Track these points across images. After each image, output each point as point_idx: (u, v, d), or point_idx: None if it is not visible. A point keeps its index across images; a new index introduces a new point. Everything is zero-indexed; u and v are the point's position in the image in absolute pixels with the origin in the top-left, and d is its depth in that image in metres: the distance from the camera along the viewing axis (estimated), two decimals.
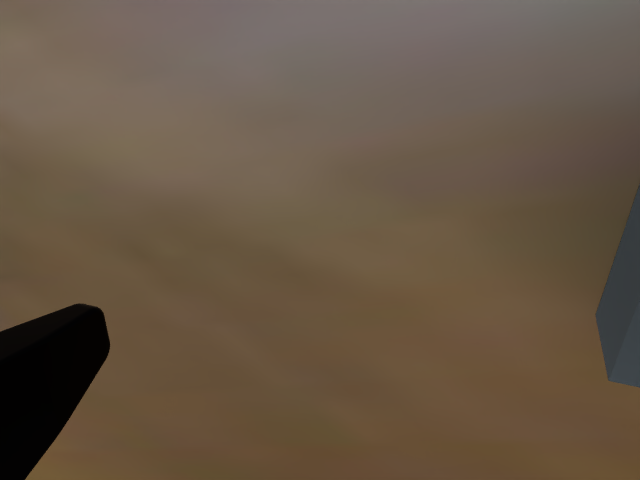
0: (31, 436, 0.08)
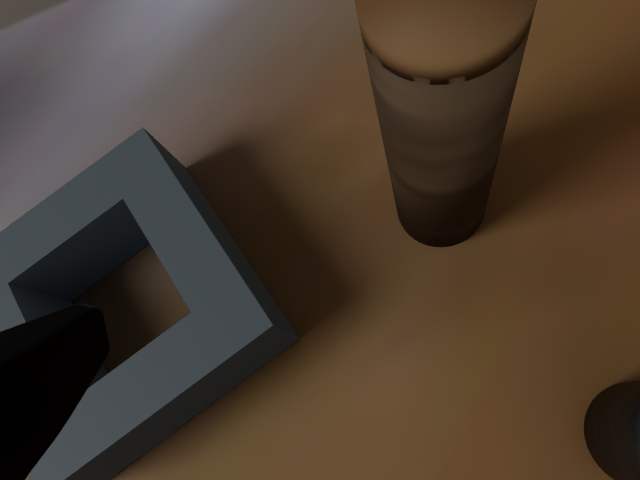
0: (31, 436, 0.08)
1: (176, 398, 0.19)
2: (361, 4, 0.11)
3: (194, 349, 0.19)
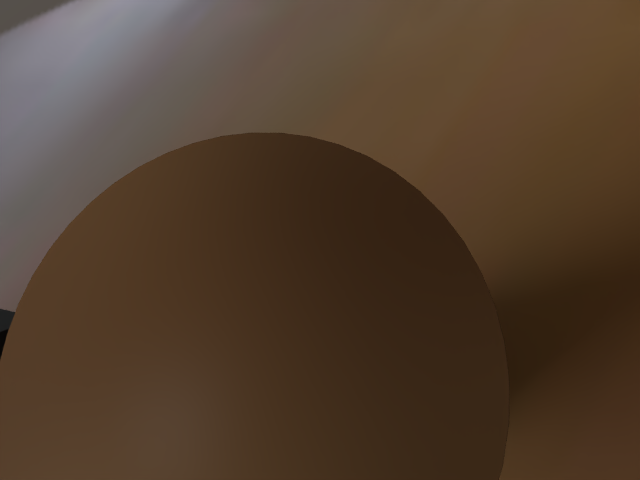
0: None
1: None
2: (4, 414, 0.04)
3: None
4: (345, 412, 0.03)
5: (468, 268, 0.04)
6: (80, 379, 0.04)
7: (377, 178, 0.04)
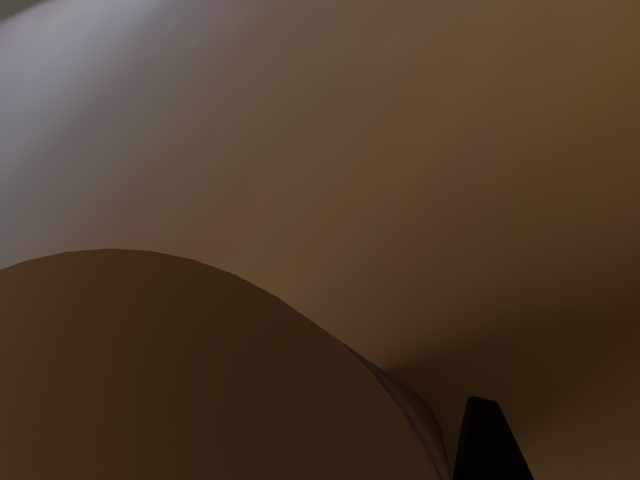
0: None
1: None
2: None
3: None
4: None
5: None
6: None
7: (290, 336, 0.02)
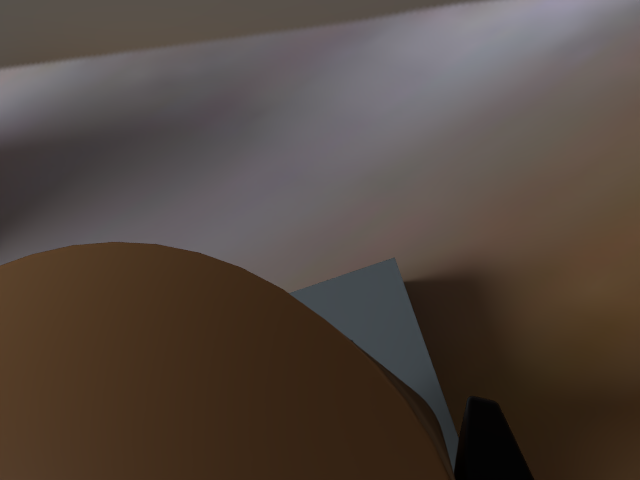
0: None
1: None
2: None
3: None
4: None
5: None
6: None
7: (297, 329, 0.02)
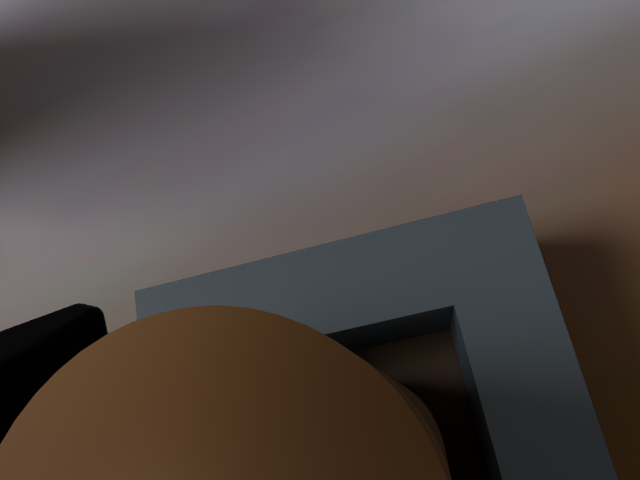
0: None
1: None
2: None
3: None
4: None
5: (433, 473, 0.04)
6: None
7: (343, 366, 0.04)
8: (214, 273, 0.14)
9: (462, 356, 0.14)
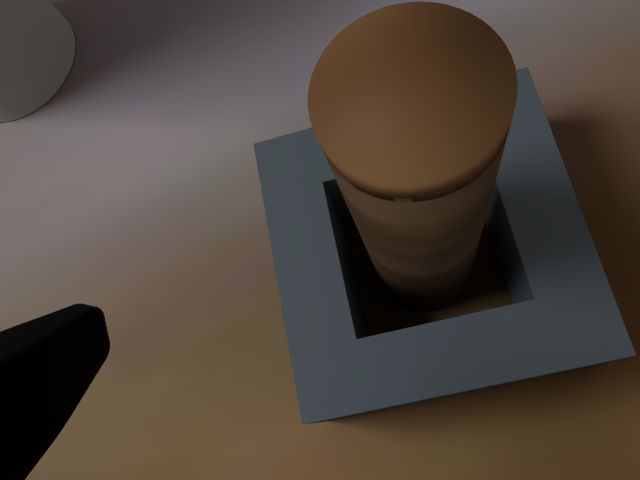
0: (31, 436, 0.08)
1: (488, 386, 0.16)
2: (315, 111, 0.10)
3: (527, 341, 0.16)
4: (455, 97, 0.09)
5: (501, 45, 0.09)
6: (345, 97, 0.10)
7: (464, 16, 0.10)
8: (311, 129, 0.20)
9: None
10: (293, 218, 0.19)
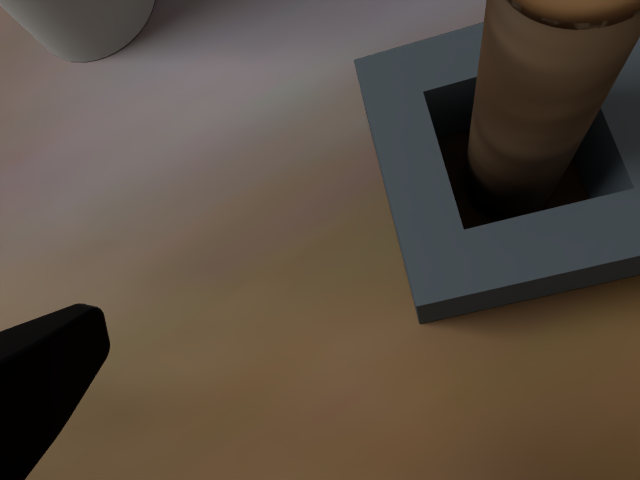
0: (31, 436, 0.08)
1: (592, 267, 0.18)
2: None
3: (629, 226, 0.18)
4: None
5: None
6: None
7: None
8: (409, 45, 0.21)
9: None
10: (396, 124, 0.20)
